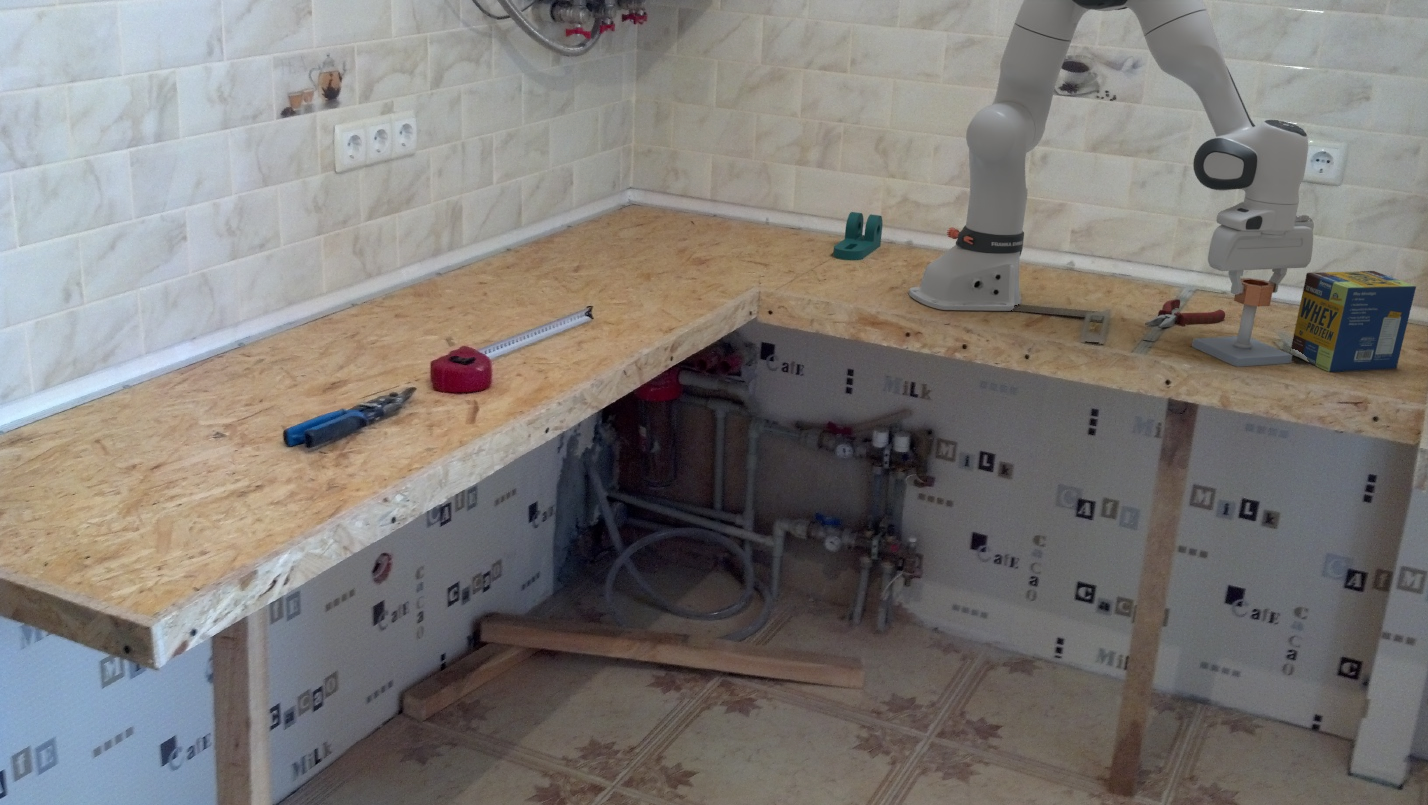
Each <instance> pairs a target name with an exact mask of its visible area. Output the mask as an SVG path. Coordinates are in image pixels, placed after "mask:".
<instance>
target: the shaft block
mask: <svg viewBox="0 0 1428 805" xmlns="http://www.w3.org/2000/svg"><path fill="white" fill-rule="evenodd" d="M1257 307H1258V306H1251V305H1245V304H1243V307H1242V312H1241V313H1242V314H1241V317H1240V323H1239V327H1238V333H1237V335H1233V336H1216V337H1201V338H1200V337H1199V338H1193V339H1192V344H1191V347H1192V348H1195V349H1196V350H1199V351H1200V352H1204V353H1205V354H1207V355H1209V356H1211V357H1212V356H1213V357H1214V358H1217V359H1218V360H1221V361H1222V362H1225V363H1227V364H1229V365H1233V366H1234V367H1237V368H1238V367H1241V368H1242V367H1255V366H1266V365H1267V366H1268V365H1270V366H1271V365H1282V364H1284V365H1285V364H1292V361H1293V360H1292V359H1293V355H1291V354H1290V352H1289V353H1288V352H1287V351H1283V350H1281V349H1279V348H1276V347H1274V346H1271V345H1269V344H1267V343H1265V342H1263V341H1260V340H1258V339H1256V338H1255V339H1254V338H1252V334H1253V328H1254V324H1255V317H1256V313H1257Z"/></svg>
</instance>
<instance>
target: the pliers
mask: <svg viewBox="0 0 1428 805" xmlns="http://www.w3.org/2000/svg"><path fill="white" fill-rule="evenodd" d="M1180 305H1181V300H1180V299H1178V298H1175V299H1171V300H1167V301H1166V302H1164V304H1163V305H1162V309H1160V310H1158V313H1157V316H1156V317H1154V318H1152V319H1150V320H1149V321H1146V322H1145V324H1144V326H1155V327H1156V326H1158V329H1162V328H1169V327H1170V328H1171V327H1173V325H1179V326H1181V327H1186V325H1202V324H1203V325H1206V324H1207V325H1208V324H1209V325H1210V324H1217V322H1218V323H1220V322H1222V321H1224V320H1225V318H1226V313H1225V311H1224V310H1223V309H1218V310H1214V311H1210V312H1209V311H1207V312H1180V311H1179V312H1173V310H1172V309H1175V308H1178V309H1180ZM1175 310H1176V309H1175ZM1173 313H1174V314H1173Z"/></svg>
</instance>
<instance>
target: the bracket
mask: <svg viewBox="0 0 1428 805" xmlns="http://www.w3.org/2000/svg"><path fill="white" fill-rule="evenodd" d="M846 219H847V220H846V224H845V233H844V239H842V240H841V241H840V242H838V243H836V244H835V245H833V252H832V257H834V258H836V259H838V260H844V261H861V260H862V261H863V259H865V258H866V257H868V256H870V254H872V253H873V252H875V251H876V250H877V249H879V248H880V247H881V244H882V233H883V216H882V215H878V214H872V213H871V214H869V216H868V217H867V220H866V224H865V227H864V214H863V213H862V212H856V211H851V212H849V214H848V216H847V218H846ZM863 232H864V234H863Z"/></svg>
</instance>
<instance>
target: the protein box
mask: <svg viewBox="0 0 1428 805" xmlns="http://www.w3.org/2000/svg"><path fill="white" fill-rule="evenodd" d="M1416 289H1417V286H1416V285H1414V284H1411V283H1409V282H1405V281H1403V280H1399V279H1397V278H1394V277H1393V276H1389V275H1386V274H1383V273H1380V272H1378V271H1375V270H1362V271H1359V270H1357V271H1356V270H1355V271H1328V272H1327V271H1326V272H1325V271H1324V272H1323V271H1322V272H1306V275H1305V280H1304V284H1303V289H1302V294H1301V300H1300V304H1299V308H1298V314H1297V317H1296V318H1297V319H1296V323H1295V327H1294V332H1293V337H1292V341H1291V347H1290V349H1291V348H1292V349H1295V350H1298V351H1299V352H1301V353H1302V354H1304V355H1305V356H1306V357H1307V360H1308V361H1309V363H1308V364H1310V365H1313V366H1315V367H1318V368H1319V369H1322V370H1324V371H1325V372H1328V373H1331V372H1332V373H1337V372H1355V371H1356V372H1357V371H1373V370H1375V371H1376V370H1395V369H1397V368H1398V363H1399V360H1400V356H1401V355H1400V354H1401V350H1402V347H1403V342H1404V339H1405V334H1406V331H1407V327H1408V323H1409V319H1410V314H1411V310H1412V305H1413V302H1414V301H1413V300H1414V296H1415V293H1416Z"/></svg>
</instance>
